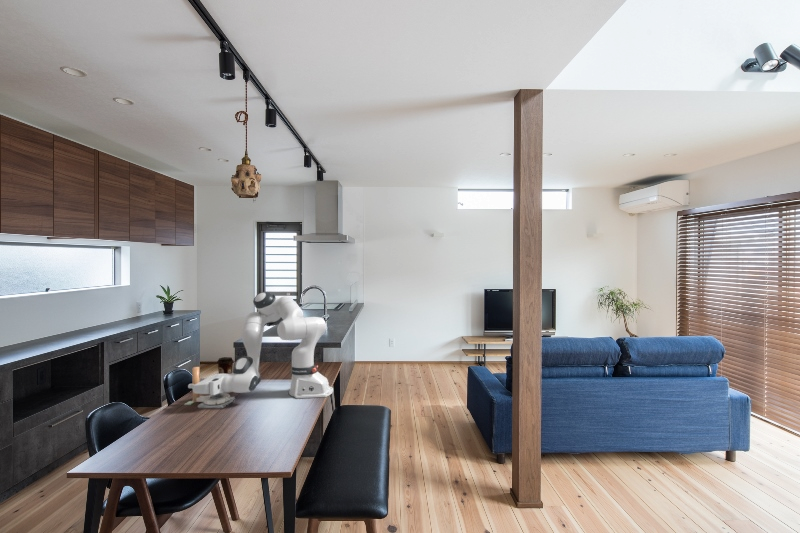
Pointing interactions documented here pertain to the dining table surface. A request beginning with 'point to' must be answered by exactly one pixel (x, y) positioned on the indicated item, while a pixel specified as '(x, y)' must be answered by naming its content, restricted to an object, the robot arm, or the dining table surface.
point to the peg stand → (206, 399)
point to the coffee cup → (225, 365)
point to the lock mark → (189, 403)
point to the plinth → (216, 404)
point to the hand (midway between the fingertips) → (194, 382)
